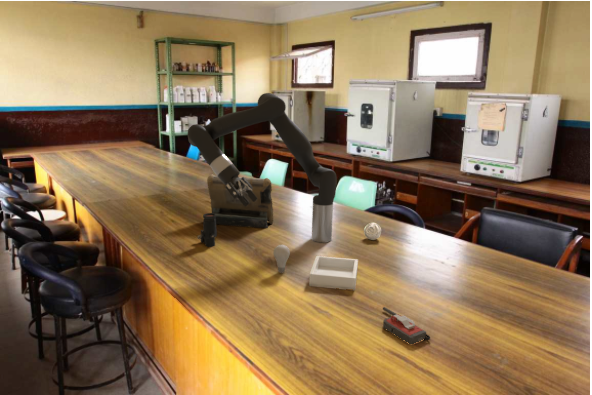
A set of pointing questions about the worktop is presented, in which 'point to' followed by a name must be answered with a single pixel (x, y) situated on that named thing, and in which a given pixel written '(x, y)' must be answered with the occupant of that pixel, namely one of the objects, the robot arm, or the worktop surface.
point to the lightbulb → (281, 256)
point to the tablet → (234, 210)
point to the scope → (208, 230)
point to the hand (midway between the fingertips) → (251, 202)
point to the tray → (334, 272)
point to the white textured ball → (372, 231)
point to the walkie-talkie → (404, 328)
